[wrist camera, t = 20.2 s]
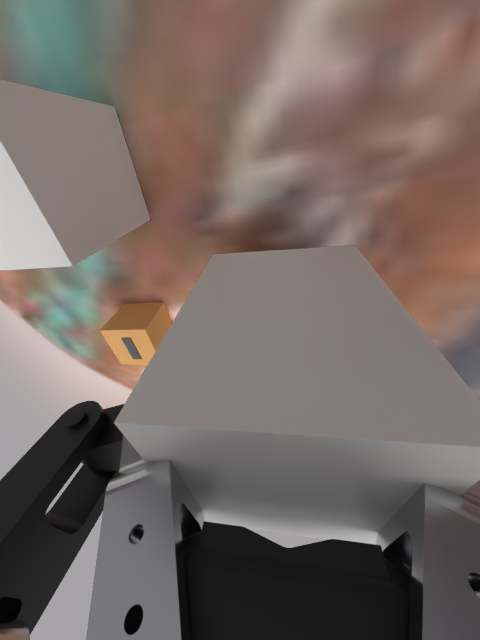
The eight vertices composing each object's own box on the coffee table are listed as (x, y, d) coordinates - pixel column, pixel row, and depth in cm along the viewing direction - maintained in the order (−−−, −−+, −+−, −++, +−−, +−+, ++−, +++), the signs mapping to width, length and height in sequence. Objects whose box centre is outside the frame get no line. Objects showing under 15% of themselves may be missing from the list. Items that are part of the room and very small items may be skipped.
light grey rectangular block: (213, 254, 10) (114, 422, 4) (354, 245, 9) (518, 449, 3) (230, 350, 14) (192, 520, 8) (335, 351, 13) (392, 548, 7)
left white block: (25, 122, 14) (-184, 104, 8) (114, 106, 13) (-41, 70, 7) (77, 225, 17) (-35, 272, 11) (150, 219, 16) (72, 266, 10)
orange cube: (125, 303, 22) (98, 331, 18) (164, 301, 21) (144, 330, 18) (141, 335, 24) (120, 365, 21) (177, 334, 23) (161, 365, 20)
